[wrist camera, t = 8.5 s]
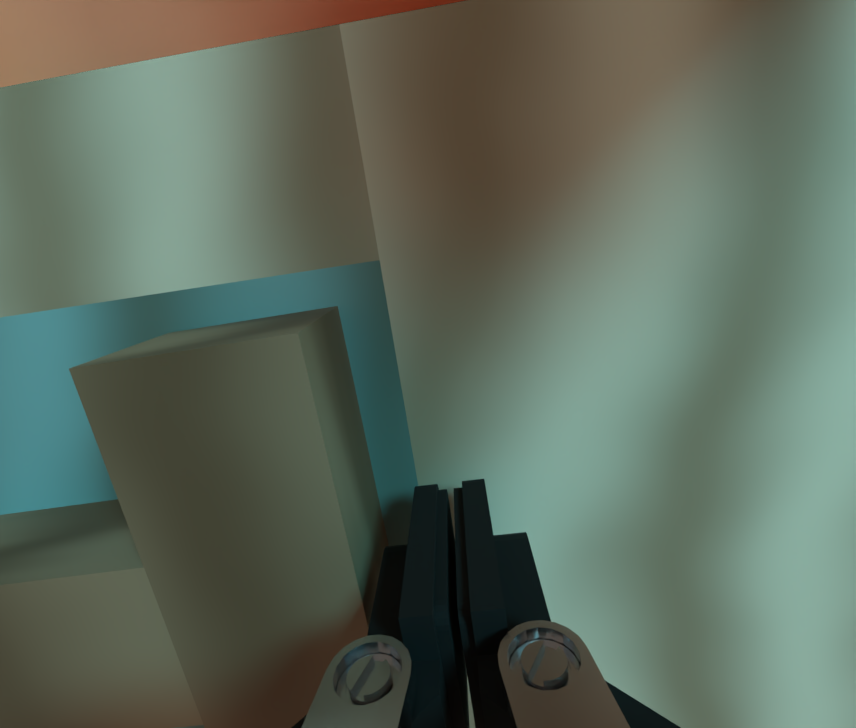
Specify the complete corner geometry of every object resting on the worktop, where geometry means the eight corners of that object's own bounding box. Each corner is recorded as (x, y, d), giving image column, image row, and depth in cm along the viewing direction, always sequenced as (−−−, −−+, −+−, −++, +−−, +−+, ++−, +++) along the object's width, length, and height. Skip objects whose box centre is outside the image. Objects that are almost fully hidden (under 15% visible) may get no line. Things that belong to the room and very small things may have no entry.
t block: (337, 305, 10) (297, 332, 8) (423, 711, 14) (419, 839, 11) (-143, 382, 11) (-345, 433, 8) (41, 747, 14) (-59, 875, 12)
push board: (1082, -91, 9) (1159, -129, 8) (930, 750, 15) (964, 786, 14) (-292, 162, 11) (-363, 155, 10) (44, 815, 17) (19, 851, 16)
